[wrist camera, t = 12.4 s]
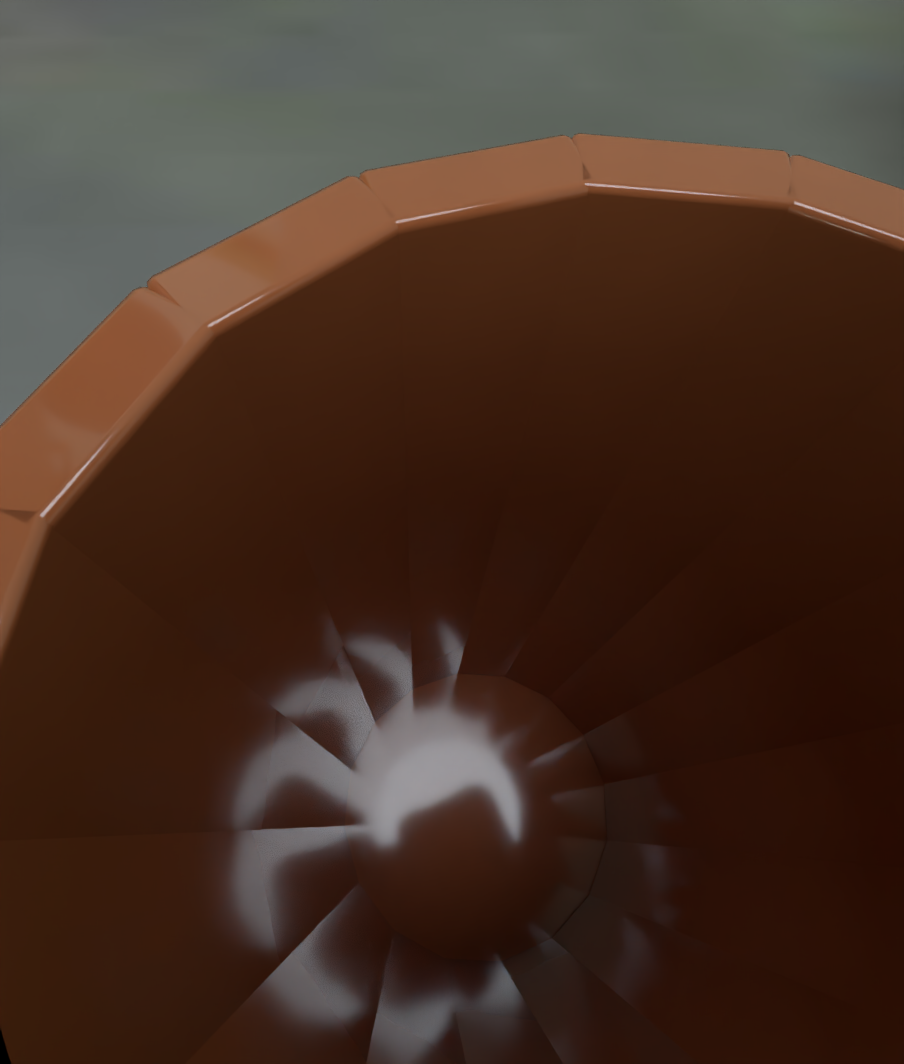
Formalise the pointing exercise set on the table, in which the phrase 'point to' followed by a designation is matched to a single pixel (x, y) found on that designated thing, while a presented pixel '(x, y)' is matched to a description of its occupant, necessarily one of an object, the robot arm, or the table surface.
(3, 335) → the table surface
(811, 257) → the terracotta pot
